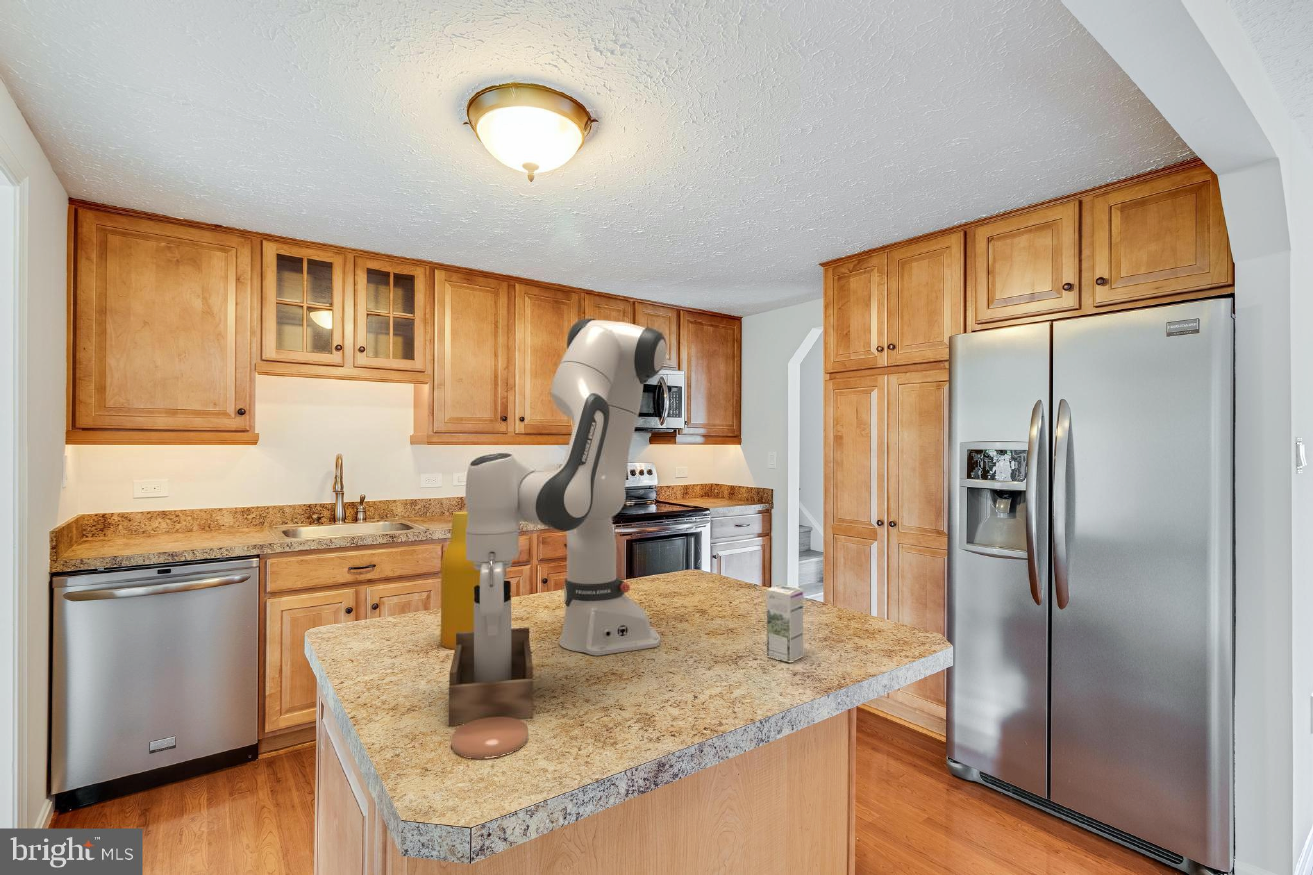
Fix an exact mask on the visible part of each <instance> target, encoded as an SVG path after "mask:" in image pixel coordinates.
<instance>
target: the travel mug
mask: <svg viewBox="0 0 1313 875" xmlns="http://www.w3.org/2000/svg"><path fill="white" fill-rule="evenodd" d="M511 585H512V583H511V581H510V580H505V581H504V611H503V613H502V614H501V615H499V633H498V635H495V636H489V635H488V634H487V620H486V616H482V615H481V613H480V586H478V585H476V586H474V596H475V597H474V683H484V682H496V681H508V680H512V673H511V629H512V597H511V596H512V595H511V593H512V586H511ZM490 587H492V586H490Z"/></svg>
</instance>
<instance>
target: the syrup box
mask: <svg viewBox="0 0 1313 875" xmlns="http://www.w3.org/2000/svg"><path fill="white" fill-rule="evenodd" d="M767 656H771V657H774V658H778V659H780V660H785V661H793V660H795V659H797V658H799V657H801V656H803V657H804V589H803V588H799V587H793V586H789V585H781V584H779V585H774V586H771V587H769V588H766V657H767Z"/></svg>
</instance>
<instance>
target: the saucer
mask: <svg viewBox="0 0 1313 875" xmlns="http://www.w3.org/2000/svg"><path fill="white" fill-rule="evenodd" d="M527 739H528V740H529V728H528V725H527V723H525V722H524V721H523V720H522V719H515V718H510V717H487V718H482V719H477V720H474V721H471V722H468V723H466V724H464V725H460V727H458V728H456V729H455V731H454V732H453V733H452V736H451V749H452V751H453V750H454V751H455V752H456V753H457V754H456V753H455V752H454V751H453V752H454V753H455V754H456V755H458V754H460V755H462V756H466V757H471V758H485V757H492V756H501V755H503V754H507V753H510V752H512V751H515V750H517V749H519V748H520V747H522V745H524V744H525V743H526V744H527V742H528V740H527ZM526 741H527V742H526ZM526 744H525V745H526ZM525 745H524V746H525ZM522 748H523V747H522ZM520 749H521V748H520ZM520 749H519V750H520ZM517 751H518V750H517ZM515 752H516V751H515ZM460 755H459V756H460ZM462 756H461V757H462Z"/></svg>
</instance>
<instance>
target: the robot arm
mask: <svg viewBox="0 0 1313 875" xmlns="http://www.w3.org/2000/svg"><path fill="white" fill-rule="evenodd" d="M567 334H568V335H567V340H566V350H565V353H564V354H563V356H562V358H561V361H560V363H559V365H558V367H557V369H556V372H555V374H554V376H553V379H552V383H551V387H550V396H551V400H552V402H553V404H554V406H555V407H556V408H557V410H558V411H559V412H561V413H562V414H563V415H564V416H565V417H567V418H568V419H570V420H572V424H573V425H572V427H573V428H572V433H571V436H570V439H569V442H568V446H567V449H566V454H565V456H564V460H563V463H562V464H561V465H560V467H559V468H557V469H556V470H554V471H541V470H537V469H534V468H532V467H530V466H528V465H525V464H523V463H522V462H520V461H519V460H517V459H516V458H515V456H514V455H513V454H511V453H507V452H500V453H499V452H497V453H493V454H491V453H490V454H485V455H482V456H479V457H476V458H475V459H473V460H472V461H471V462H470V463H469V465H468V468H467V472H466V479H465V480H466V481H465V496H464V497H465V501H464V502H465V504H464V505H465V509H466V512H467V513H468V524H467V527H466V559H467V560H469V561H473V562H474V569H476V570H480V613H481V615H482V616H486V620H487V634H488V635H489V636H495V635H498V633H499V615H501V614H502V613H503V611H504V581H506V576H507V575H506V574H507V569H509V568H512V560H515V559H516V558H518V557H519V556H520V553H519V552H520V549H519V548H520V546H519V542H520V540H519V535H520V534H519V523H520V524H521V522H522V523H528V524H532V525H537V526H545V527H549V528H551V529H555V530H558V531H562V532H565V535H566V578H565V580H564V585H563V586H564V589H563V590H564V591H563V593H564V595H563V599H564V600H563V601H564V605H565V610H564V611H565V612H564V619H563V624H562V630H561V634H560V638H559V639H558V640H559V641H558V644H559V645H560V646H561V647H562V648H564V649H566V650H570V651H573V652H579V653H586V654H588V655H590V656H602V655H611V654H618V653H622V652H623V653H624V652H630V651H636V650H638V651H639V650H643V649H651V648H656V647H658V646H659V645H660V644H661V636H660V634H659V633H658V631H656V629H654V628H652V627H651V624H650V619H649V616H648V614H647V612H646V610H645V609H644V608H643V607H642V606H641V605H639V604H638V603H637V602H635V601H634V600H633V599H632V598H630V597H629V596H628V595H626V593H629V592H630V590H631V585H630V584H629V583H628V582H626V581H625V580H623V579H621V578H620V577H617V541H616V537H615V532H614V528H613V526H614V525H613V517H615V516H616V515H618V514H619V512H620V511H621V510H622V508H624V506H625V501H626V497H627V496H626V494H627V493H626V483H627V474H628V463H629V454H630V449H631V445H632V440H633V436H634V433H635V429H636V426H637V425H636V424H637V421H638V418H639V414H640V409H641V405H642V400H643V399H642V398H643V391H644V385H645V384H646V383H647V382H648V381H649V380H651V379H653V378H654V377H655V376H657V374H659V373H660V371H661V370H662V369H663V367H664V364H665V361H666V359H667V351H668V350H667V349H668V348H667V341H666V338H665V336H664V335H663V333H662V332H660V331H658V330H656V329H654V328H652V327H643V326H640V325H637V324H634V323H628V322H624V321H614V320H612V321H611V320H603V319H602V320H600V319H596V318H582V319H579V320H578V321H576V322H575V323H574V324H573V325H572V326H571V327H570V329H569V331H568V333H567ZM490 586H492V587H490Z"/></svg>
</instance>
